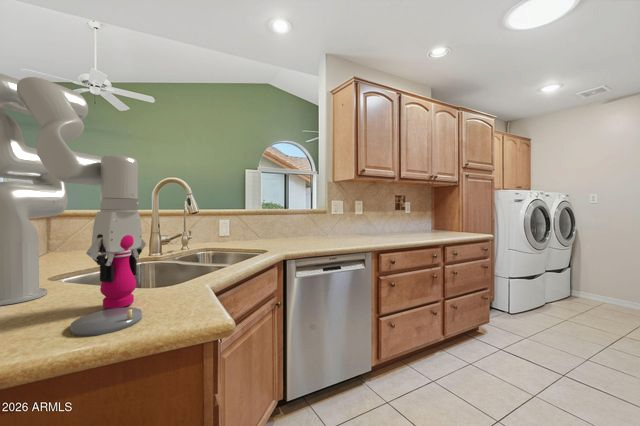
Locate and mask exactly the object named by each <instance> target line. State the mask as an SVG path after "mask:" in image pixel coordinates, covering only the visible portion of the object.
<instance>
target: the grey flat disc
mask: <svg viewBox="0 0 640 426" xmlns="http://www.w3.org/2000/svg"><path fill="white" fill-rule="evenodd" d="M142 318H143V311H142V309H140V308H136V307H130V306H129V307H127V306H124V307H120V308H107V309H104V310H100V311H94V312H93V313H89V314H86V315H83V316H80V317H79V318H77V319H75V320H73V321H72V322H71V324H70V333H71V335H74V336H77V337H78V336H79V337H93V336H100V335H105V334H106V335H107V334H110V333H115V332H119V331H122V330H124V329H127V328H129V327H132V326H134V325H136V324H137V323H139V322H140V321H141V320H142Z"/></svg>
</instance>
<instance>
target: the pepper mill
mask: <svg viewBox="0 0 640 426" xmlns="http://www.w3.org/2000/svg"><path fill="white" fill-rule="evenodd" d="M133 243H134V239H133V237H132V236H131V235H126V236H124V237H123V238H122V239H121V242H120V246H121V247H122V248H123V249H124V251H121V252H118V253H115V254H114V257H113V260H112V263H111V265H113V266H114V280H113V282H101V284H100V289H99V290H100V293H101V294H102V295H103V296H104V298H102V307H103V308H104V309H114V308H125V307H127V306H130V305H133V303H134V301H135V298H134V297H135V296H134V294H133V292H134V291H136V288H137V281H136V278H135V275H133V273H132V271H131V269H130V265H129V256H130V255H131V250H128V249H129V248H130V247H131V246H132V245H133ZM106 257H107V255H106Z"/></svg>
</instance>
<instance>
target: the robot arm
mask: <svg viewBox="0 0 640 426" xmlns="http://www.w3.org/2000/svg"><path fill="white" fill-rule="evenodd" d="M5 109H7V110H11V111H13V112H18V113H21V114H25V115H28V116H29V115H30V116H31V117H32V118H33V120H34V121H35V122H36V124H37V125H38V127H39V128H40V130H39V132H38V133H37V135H36V140H35V147H29V146H27V145H26V144H25V140H24V137H23V131H22V129H21V127H20V126H19V124H18V123H17V122H16V120H15V119H14V118H13V117H12V115H10V114H9V113H8V112H7V111H6V110H5ZM88 113H89V105H88V103H87V100H86V99H85V98H84V97H83V96H82V94H80V93H79V92H78V91H74V90H73V89H70V88H68V87H66V86H62V85H61V84H57V83H55V82H53V81H50V80H47V79H44V78H42V77H37V76H27V77H24V78H21V79H17V78H16V77H15V78H14V77H12V76H9V75H7V74H3V73H1V72H0V178H2V179H8V180H9V179H10V180H23V181H32V183H29V182H28V183H27V182H19V181H18V182H17V181H0V306H5V305H11V304H18V303H23V302H28V301H32V300H35V299H39V298H41V297H44V296H45V295H47V294H48V289H47V288H44V287H43V288H42V287H40V257H39V256H40V253H39V252H40V246H39V244H40V243H39V232H38V230H37V228H36V226H35V225H34V224H33V223H32V221H31V220H30V219H29V218H40V217H44V218H45V217H46V218H47V217H57V216H59V215H61V214H63V213H64V212H65V211H66V209H67V207H68V203H69V201H68V199H69V198H68V193H67V188H66V184H74V185H75V184H76V185H88V186H95V187H100V193H99V194H100V203H99V204H100V206H99V207H100V210H99V211H96V214H95V217H94V222H93V227H92V236H91V246H90V247H89V248H88V249H87V250H86V255H87V256H88V257H89V258H90V259H92V261H94V262H95V263H96V264H97V266H99V281H100V282H101V283H102V282H113V280H114V266H113V265H111V263H112V260H113V257H114V254H115V253H118V252H121V251H124V249H123V248H122V247H121V246H120V242H121V239H122V238H123V237H124V236H126V235H131V236H132V237H133V239H134V243H133V245H132V246H131V247H130V248H129V249H128V250H131V255H130V256H129V265H130V269H131V271H132V273H133V275H134V276H137V270H138V269H137V266H138V265H137V264H138V260H139V259H140V255H141V253H143V250H144V249H145V247H146V245H147V243H146V242H145V240H143V238H142V237H143V234H142V233H143V232H142V222H141V217H140V216H141V215H140V212H139V211H138V210H139V206H140V203H139V199H138V198H139V162H138V160H137V159H136V158H134V157H132V156H127V155H121V154H119V155H118V154H106V155H104V156H99V155H94V154H89V153H84V152H79V151H73V150H72V149H70V147H69V146H68V144H66V143H67V142H69V141H72V140H74V139H76V138H78V137H80V136H81V135H82V134H83V132H84V130H85V124H84V122H83V120H84V119H85V118H87V116H88V115H89V114H88ZM106 255H107V256H106Z"/></svg>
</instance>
